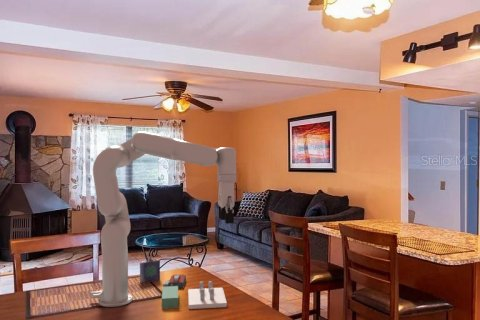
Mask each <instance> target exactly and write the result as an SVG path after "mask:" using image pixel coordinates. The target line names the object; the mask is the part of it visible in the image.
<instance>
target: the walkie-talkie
mask: <svg viewBox="0 0 480 320" xmlns="http://www.w3.org/2000/svg"><path fill="white" fill-rule="evenodd" d="M186 281H187V276H186V275H185V274H181V273H180V274H178V273H177V274H173V275H171V276H170V277H169V279H167V280H165V281H164V283H163V284H162V288H163V287H168V286H178V290H179V289H184V288H185V285H186ZM162 291H163V289H162V290H161V292H162Z"/></svg>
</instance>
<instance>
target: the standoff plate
mask: <svg viewBox="0 0 480 320" xmlns="http://www.w3.org/2000/svg"><path fill="white" fill-rule="evenodd" d="M198 283H199V288H188V291H187V293H188V294H187V295H188V296H187V297H188V310H192V309H196V310H197V309H212V308H214V309H216V308H227V307H228V306H227V305H228V302H227V299H226V296H225V292H224V288H223V287H213V280H212V281H211V280H210V281H208V288H206V287H205V288H204V281H199V282H198Z"/></svg>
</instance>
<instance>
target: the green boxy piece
mask: <svg viewBox="0 0 480 320" xmlns="http://www.w3.org/2000/svg"><path fill="white" fill-rule="evenodd" d="M162 290H163V291H162ZM162 290H161V309H164V310H165V309H177V308H179V289H178V286H168V287H163V286H162Z"/></svg>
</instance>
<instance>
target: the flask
mask: <svg viewBox="0 0 480 320" xmlns="http://www.w3.org/2000/svg"><path fill="white" fill-rule="evenodd" d="M160 280H161V260H160V259H156V258H154V259H153V258H151V256H148V257H147V261H141V262H139V282H140V283H141V284H144V283H151V282H155V281H160Z"/></svg>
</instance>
